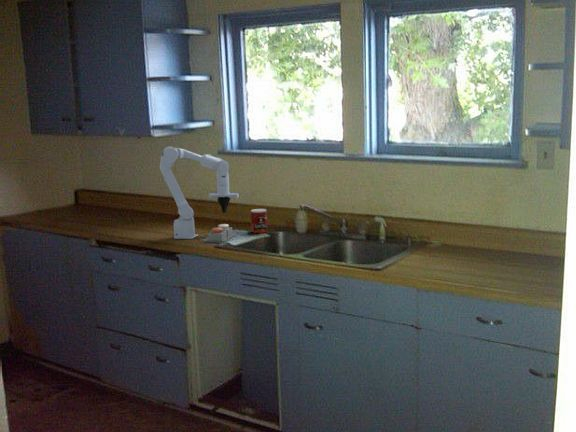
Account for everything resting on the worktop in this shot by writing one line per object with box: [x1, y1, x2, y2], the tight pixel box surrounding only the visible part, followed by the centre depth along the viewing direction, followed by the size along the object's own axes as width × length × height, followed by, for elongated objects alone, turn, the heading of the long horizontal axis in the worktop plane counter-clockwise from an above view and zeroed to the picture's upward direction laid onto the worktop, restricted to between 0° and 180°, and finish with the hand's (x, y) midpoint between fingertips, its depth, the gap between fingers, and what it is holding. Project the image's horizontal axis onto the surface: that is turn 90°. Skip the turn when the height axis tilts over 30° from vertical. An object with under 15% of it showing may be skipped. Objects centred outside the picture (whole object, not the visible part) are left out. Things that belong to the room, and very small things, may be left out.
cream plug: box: [217, 223, 230, 230], centre depth 320 cm, size 5×5×4 cm
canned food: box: [250, 208, 268, 234], centre depth 326 cm, size 8×8×11 cm
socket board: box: [204, 226, 237, 243], centre depth 316 cm, size 10×16×4 cm, turn 166°
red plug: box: [211, 227, 223, 234], centre depth 312 cm, size 5×5×4 cm
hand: (224, 212), depth 326 cm, fingers closed
